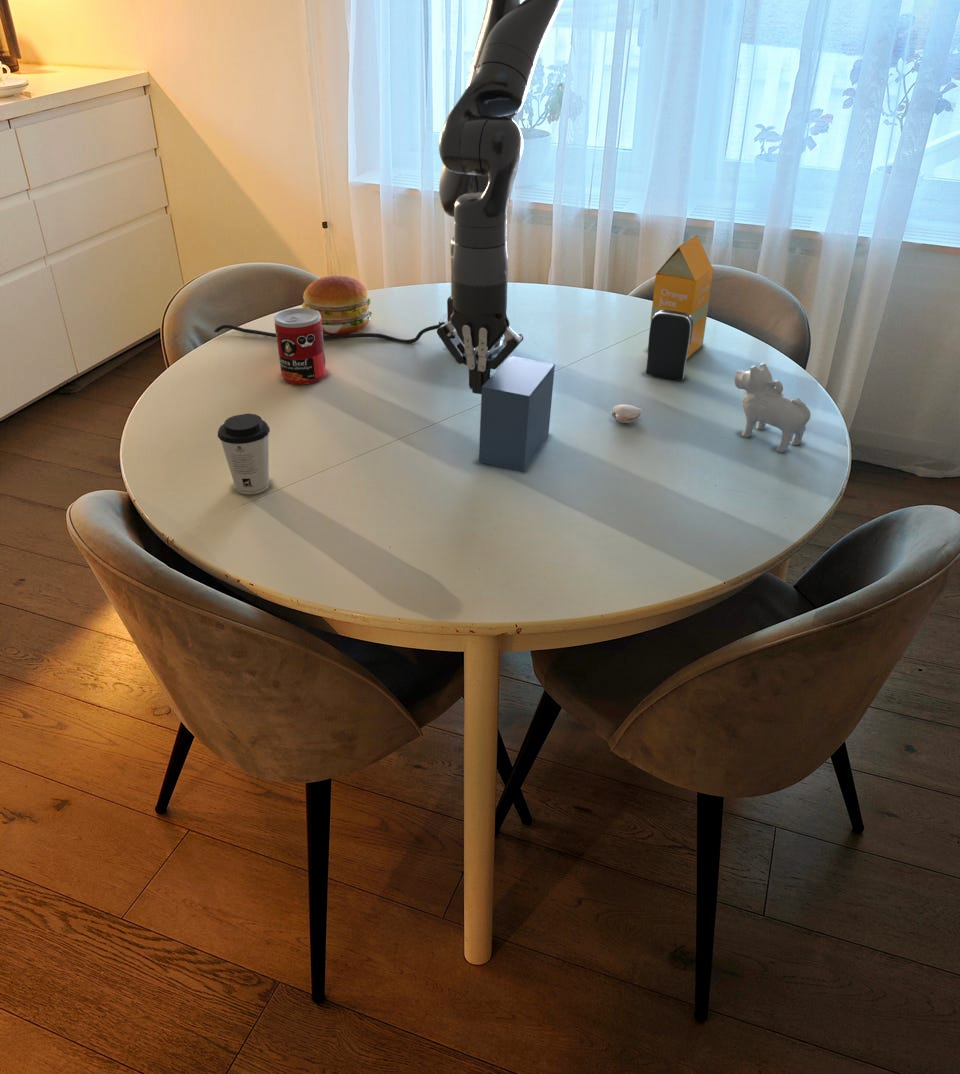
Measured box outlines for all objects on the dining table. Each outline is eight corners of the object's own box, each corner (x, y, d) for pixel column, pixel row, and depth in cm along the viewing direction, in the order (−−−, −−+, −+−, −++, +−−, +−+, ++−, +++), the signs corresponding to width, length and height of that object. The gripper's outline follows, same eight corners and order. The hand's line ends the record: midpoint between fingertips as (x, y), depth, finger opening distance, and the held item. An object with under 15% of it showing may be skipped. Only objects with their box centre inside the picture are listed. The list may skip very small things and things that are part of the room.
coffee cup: (253, 504, 123) (242, 438, 118) (216, 490, 126) (204, 425, 121) (287, 482, 128) (279, 418, 123) (251, 469, 131) (241, 406, 126)
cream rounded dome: (607, 417, 145) (608, 402, 144) (634, 411, 147) (635, 397, 146) (621, 428, 142) (622, 413, 141) (648, 422, 144) (650, 408, 142)
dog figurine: (739, 417, 146) (750, 354, 140) (809, 445, 137) (823, 379, 132) (719, 427, 143) (729, 363, 137) (789, 456, 135) (803, 389, 129)
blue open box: (478, 461, 133) (481, 386, 126) (505, 427, 142) (510, 355, 135) (523, 472, 131) (529, 396, 124) (548, 436, 140) (555, 364, 133)
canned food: (273, 381, 157) (264, 320, 151) (297, 364, 163) (290, 305, 157) (311, 388, 155) (304, 326, 149) (334, 371, 161) (329, 311, 155)
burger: (368, 340, 173) (364, 289, 167) (297, 340, 173) (291, 289, 168) (376, 316, 184) (373, 267, 179) (309, 316, 184) (304, 267, 179)
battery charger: (688, 374, 160) (696, 311, 153) (682, 382, 157) (691, 318, 151) (649, 367, 162) (656, 305, 156) (643, 375, 159) (650, 312, 153)
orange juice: (703, 345, 171) (718, 237, 160) (686, 360, 165) (700, 249, 154) (664, 336, 175) (677, 231, 164) (646, 351, 169) (657, 242, 158)
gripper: (534, 273, 125) (530, 389, 134) (446, 261, 129) (448, 375, 138) (516, 289, 119) (512, 409, 128) (424, 276, 123) (427, 394, 132)
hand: (479, 391), depth 133 cm, fingers closed
